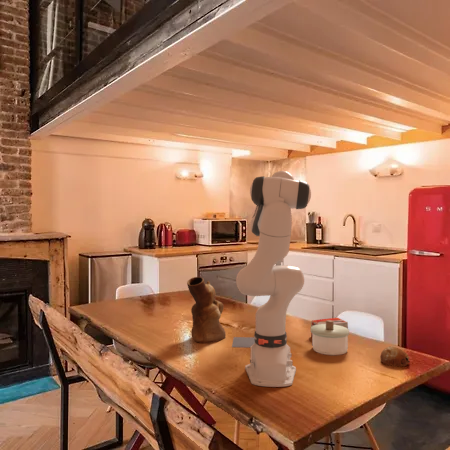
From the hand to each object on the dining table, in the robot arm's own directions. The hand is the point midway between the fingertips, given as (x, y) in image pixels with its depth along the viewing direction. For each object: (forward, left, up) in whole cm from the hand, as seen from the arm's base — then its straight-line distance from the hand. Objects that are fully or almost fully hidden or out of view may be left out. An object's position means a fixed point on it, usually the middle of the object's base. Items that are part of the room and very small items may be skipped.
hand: (278, 269), depth 196 cm
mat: (-15, +14, -31) cm, 37 cm away
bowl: (-21, -21, -31) cm, 43 cm away
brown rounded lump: (-34, -44, -32) cm, 64 cm away
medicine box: (-4, -24, -32) cm, 40 cm away
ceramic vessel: (-13, +34, -31) cm, 48 cm away
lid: (-21, -21, -24) cm, 38 cm away
